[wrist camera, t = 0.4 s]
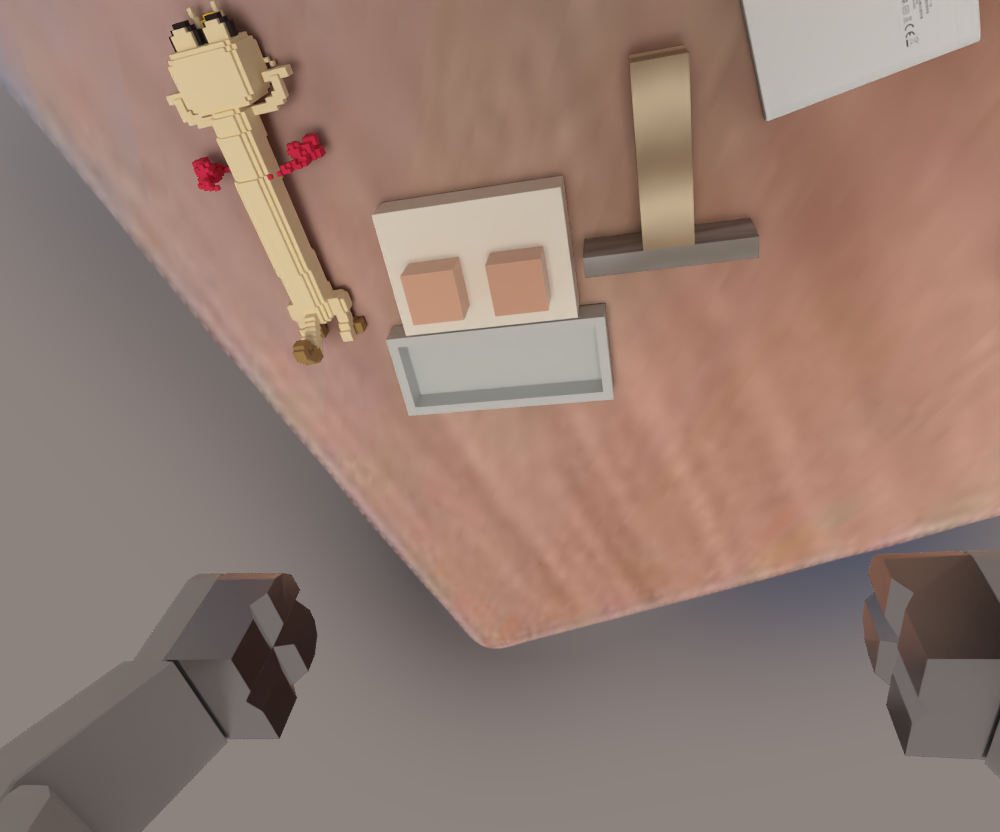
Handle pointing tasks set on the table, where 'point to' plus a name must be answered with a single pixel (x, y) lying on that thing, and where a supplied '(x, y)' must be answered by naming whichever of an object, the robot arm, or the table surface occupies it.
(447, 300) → the tile
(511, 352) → the tray
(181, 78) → the beige long curved piece
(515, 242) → the board
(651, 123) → the scraper
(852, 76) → the external hard drive
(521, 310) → the tile
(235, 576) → the robot arm
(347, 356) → the table surface
